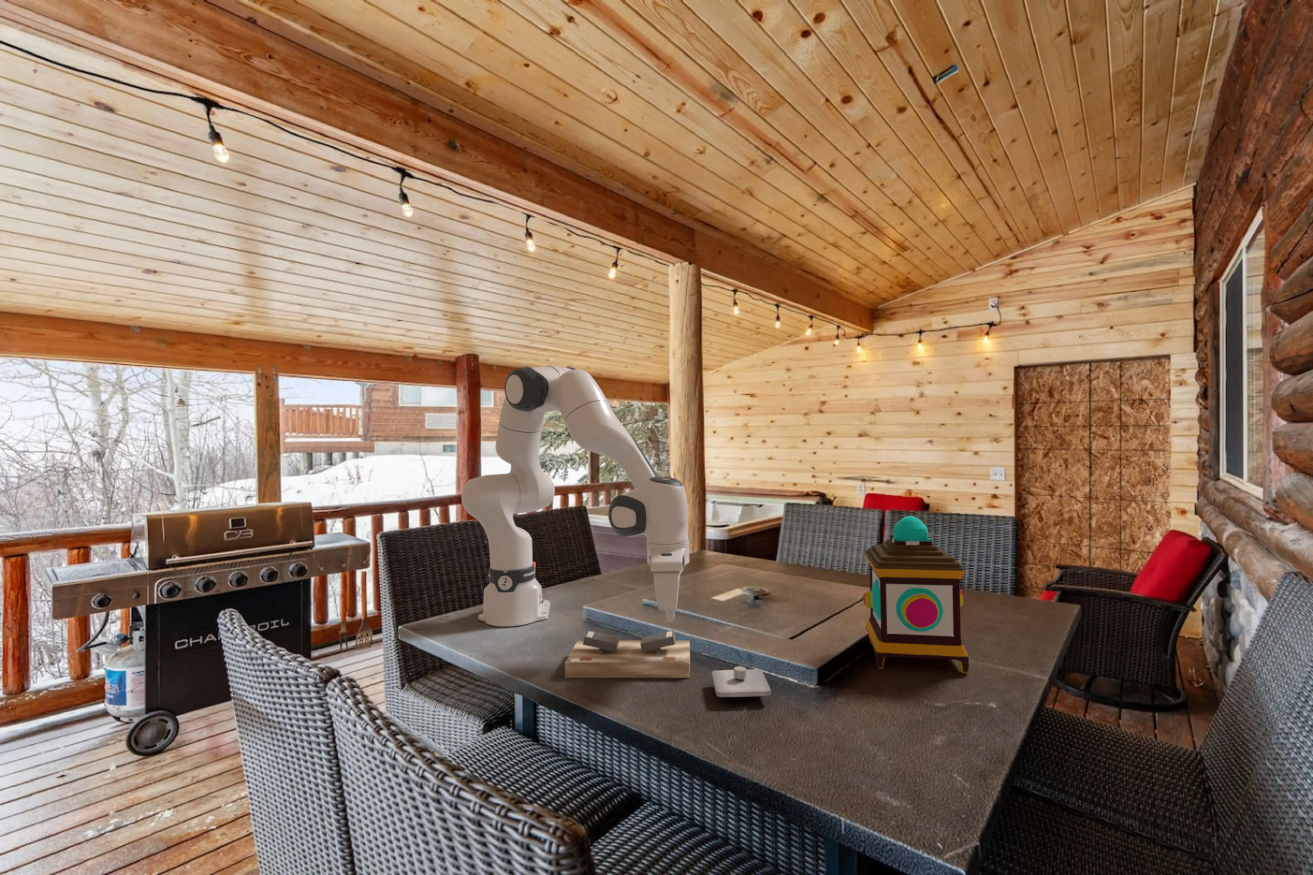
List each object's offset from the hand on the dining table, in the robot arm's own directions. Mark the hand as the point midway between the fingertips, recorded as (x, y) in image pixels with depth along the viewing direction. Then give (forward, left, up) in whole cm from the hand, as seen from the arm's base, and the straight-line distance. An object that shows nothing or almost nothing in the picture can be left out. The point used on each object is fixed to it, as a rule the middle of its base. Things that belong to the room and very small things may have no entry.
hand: (670, 620), depth 126 cm
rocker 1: (0, -15, -4) cm, 15 cm away
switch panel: (0, -9, -10) cm, 13 cm away
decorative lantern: (-5, +51, -10) cm, 53 cm away
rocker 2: (0, -3, -4) cm, 5 cm away
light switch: (+14, +13, -10) cm, 22 cm away
